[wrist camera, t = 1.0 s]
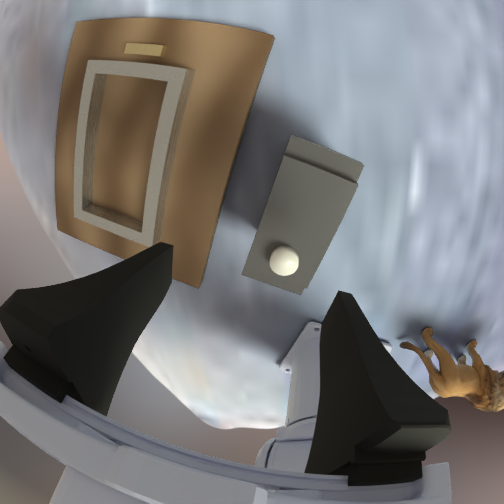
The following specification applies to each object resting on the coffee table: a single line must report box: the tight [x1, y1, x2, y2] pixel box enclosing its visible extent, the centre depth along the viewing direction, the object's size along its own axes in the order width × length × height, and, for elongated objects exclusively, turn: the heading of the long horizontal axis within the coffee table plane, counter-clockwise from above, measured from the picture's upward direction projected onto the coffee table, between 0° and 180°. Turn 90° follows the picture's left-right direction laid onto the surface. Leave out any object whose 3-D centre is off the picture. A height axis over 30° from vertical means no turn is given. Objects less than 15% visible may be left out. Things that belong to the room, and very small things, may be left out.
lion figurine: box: [400, 327, 504, 412], centre depth 20 cm, size 15×5×9 cm, turn 83°
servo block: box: [242, 135, 364, 295], centre depth 17 cm, size 4×9×6 cm, turn 163°
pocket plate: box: [55, 18, 275, 288], centre depth 18 cm, size 16×20×2 cm
